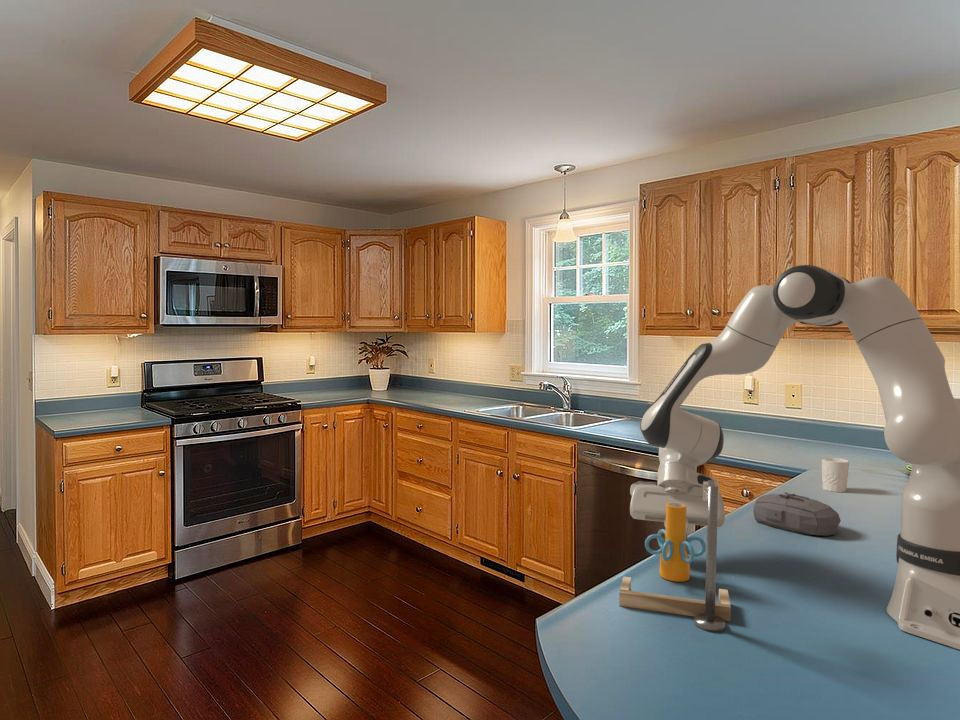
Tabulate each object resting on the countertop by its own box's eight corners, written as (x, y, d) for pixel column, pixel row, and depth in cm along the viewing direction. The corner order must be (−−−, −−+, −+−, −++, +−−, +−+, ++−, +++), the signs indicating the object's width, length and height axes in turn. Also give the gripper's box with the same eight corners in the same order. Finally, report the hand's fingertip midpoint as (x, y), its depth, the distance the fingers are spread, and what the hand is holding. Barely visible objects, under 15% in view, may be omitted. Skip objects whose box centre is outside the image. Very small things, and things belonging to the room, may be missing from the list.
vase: (662, 562, 135) (663, 494, 135) (709, 574, 129) (711, 503, 128) (637, 578, 126) (639, 506, 125) (688, 592, 119) (690, 516, 119)
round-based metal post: (693, 603, 115) (696, 475, 114) (722, 607, 113) (725, 477, 112) (694, 629, 104) (698, 488, 104) (726, 633, 103) (730, 491, 102)
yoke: (623, 589, 121) (623, 576, 121) (727, 602, 115) (727, 589, 115) (619, 605, 113) (619, 592, 113) (730, 621, 107) (730, 607, 107)
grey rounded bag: (746, 523, 166) (826, 543, 150) (747, 492, 165) (827, 509, 150) (772, 513, 175) (850, 531, 160) (773, 484, 175) (851, 499, 160)
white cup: (848, 489, 205) (849, 459, 204) (847, 494, 198) (848, 463, 198) (821, 485, 209) (822, 456, 209) (819, 490, 202) (820, 460, 202)
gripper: (630, 473, 144) (626, 526, 135) (724, 480, 137) (726, 536, 128) (631, 487, 148) (627, 540, 139) (722, 495, 142) (724, 551, 133)
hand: (675, 538), depth 134 cm, fingers closed
